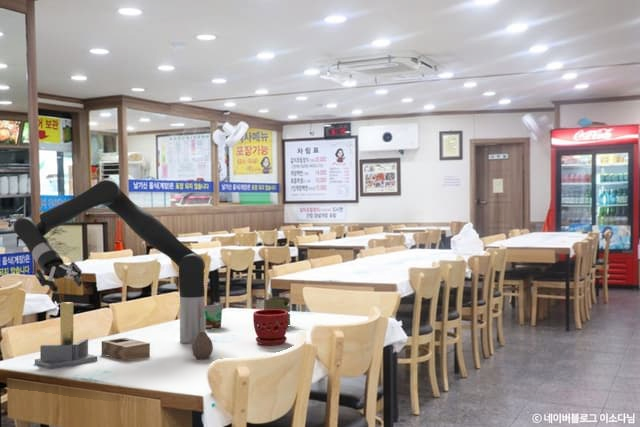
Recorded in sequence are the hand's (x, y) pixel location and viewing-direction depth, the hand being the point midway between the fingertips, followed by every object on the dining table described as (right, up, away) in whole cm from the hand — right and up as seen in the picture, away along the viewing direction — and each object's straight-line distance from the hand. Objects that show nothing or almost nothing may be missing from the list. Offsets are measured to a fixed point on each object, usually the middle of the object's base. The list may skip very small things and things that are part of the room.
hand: (68, 287), depth 231 cm
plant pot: (+68, -23, +21) cm, 75 cm away
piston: (+68, -24, +60) cm, 93 cm away
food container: (+42, -24, +57) cm, 75 cm away
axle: (+3, -22, -10) cm, 25 cm away
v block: (+3, -24, -10) cm, 26 cm away
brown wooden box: (+19, -23, +1) cm, 30 cm away
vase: (+47, -23, -5) cm, 52 cm away
